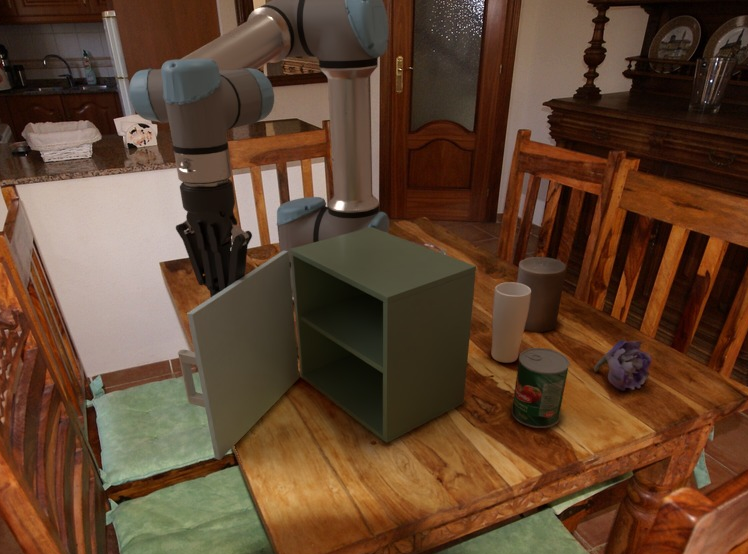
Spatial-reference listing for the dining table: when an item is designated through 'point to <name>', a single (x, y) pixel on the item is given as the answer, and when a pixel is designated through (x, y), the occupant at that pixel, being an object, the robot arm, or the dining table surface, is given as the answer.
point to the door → (243, 351)
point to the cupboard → (383, 327)
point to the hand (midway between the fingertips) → (226, 326)
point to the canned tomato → (539, 387)
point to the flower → (626, 365)
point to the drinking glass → (509, 320)
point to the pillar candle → (542, 291)
